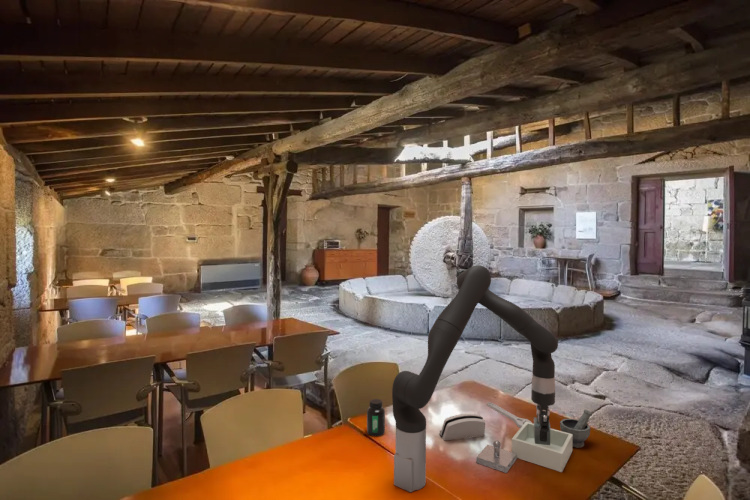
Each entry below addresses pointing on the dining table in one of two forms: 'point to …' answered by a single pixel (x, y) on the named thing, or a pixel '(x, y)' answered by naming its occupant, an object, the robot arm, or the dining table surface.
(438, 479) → the dining table surface
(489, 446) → the stud plate
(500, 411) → the adjustable wrench
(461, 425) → the napkin holder
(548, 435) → the grey rectangular block
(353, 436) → the dining table surface
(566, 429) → the mortar and pestle
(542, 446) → the bin
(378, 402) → the supplement bottle
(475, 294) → the robot arm
